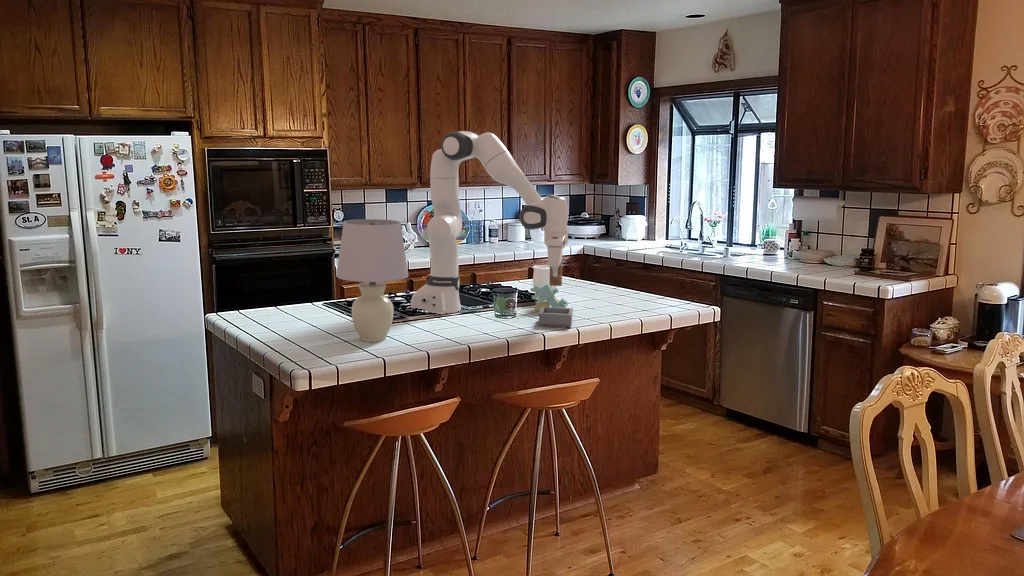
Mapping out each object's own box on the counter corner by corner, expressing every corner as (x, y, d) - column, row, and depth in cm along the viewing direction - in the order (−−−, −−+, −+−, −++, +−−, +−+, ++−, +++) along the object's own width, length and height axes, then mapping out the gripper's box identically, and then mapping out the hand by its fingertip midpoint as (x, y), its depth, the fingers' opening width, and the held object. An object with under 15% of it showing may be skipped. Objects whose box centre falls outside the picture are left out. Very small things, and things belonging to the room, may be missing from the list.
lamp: (326, 335, 269) (324, 219, 262) (389, 327, 283) (388, 217, 275) (354, 351, 250) (353, 227, 243) (420, 342, 264) (421, 224, 256)
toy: (571, 311, 315) (555, 279, 311) (541, 323, 318) (524, 292, 314) (571, 301, 324) (556, 270, 320) (542, 313, 328) (527, 283, 323)
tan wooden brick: (549, 285, 293) (549, 264, 292) (550, 284, 295) (550, 263, 294) (561, 285, 292) (561, 264, 291) (561, 284, 295) (562, 263, 293)
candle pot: (538, 326, 292) (539, 313, 291) (541, 319, 303) (541, 306, 302) (570, 328, 290) (571, 314, 289) (572, 320, 302) (572, 308, 301)
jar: (533, 297, 345) (534, 263, 343) (556, 298, 344) (558, 265, 341) (530, 302, 335) (532, 267, 332) (554, 303, 334) (556, 268, 331)
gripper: (549, 235, 301) (549, 271, 304) (545, 242, 281) (545, 280, 284) (566, 236, 301) (565, 271, 303) (562, 242, 281) (562, 280, 283)
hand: (555, 275), depth 293 cm, fingers closed on tan wooden brick, 2 cm apart
